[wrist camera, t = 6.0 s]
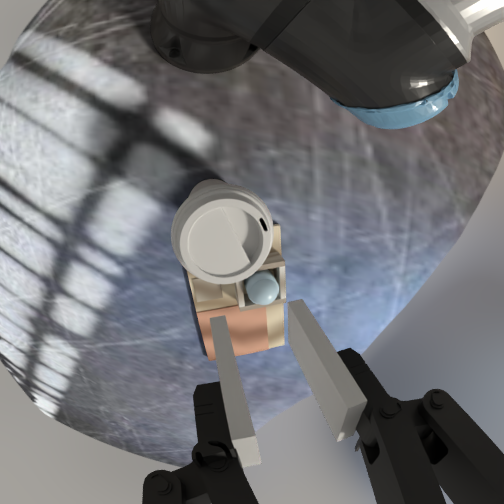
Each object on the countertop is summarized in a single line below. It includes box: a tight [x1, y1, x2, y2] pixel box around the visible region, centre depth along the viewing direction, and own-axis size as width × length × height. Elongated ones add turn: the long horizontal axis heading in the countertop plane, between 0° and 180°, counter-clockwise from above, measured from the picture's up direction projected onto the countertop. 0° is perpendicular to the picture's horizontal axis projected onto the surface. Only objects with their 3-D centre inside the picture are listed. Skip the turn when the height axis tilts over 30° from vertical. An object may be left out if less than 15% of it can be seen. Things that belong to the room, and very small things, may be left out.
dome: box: [244, 269, 279, 305], centre depth 39 cm, size 4×4×5 cm
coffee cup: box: [171, 179, 274, 284], centre depth 31 cm, size 10×10×15 cm
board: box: [187, 224, 286, 361], centre depth 43 cm, size 23×14×4 cm, turn 5°
